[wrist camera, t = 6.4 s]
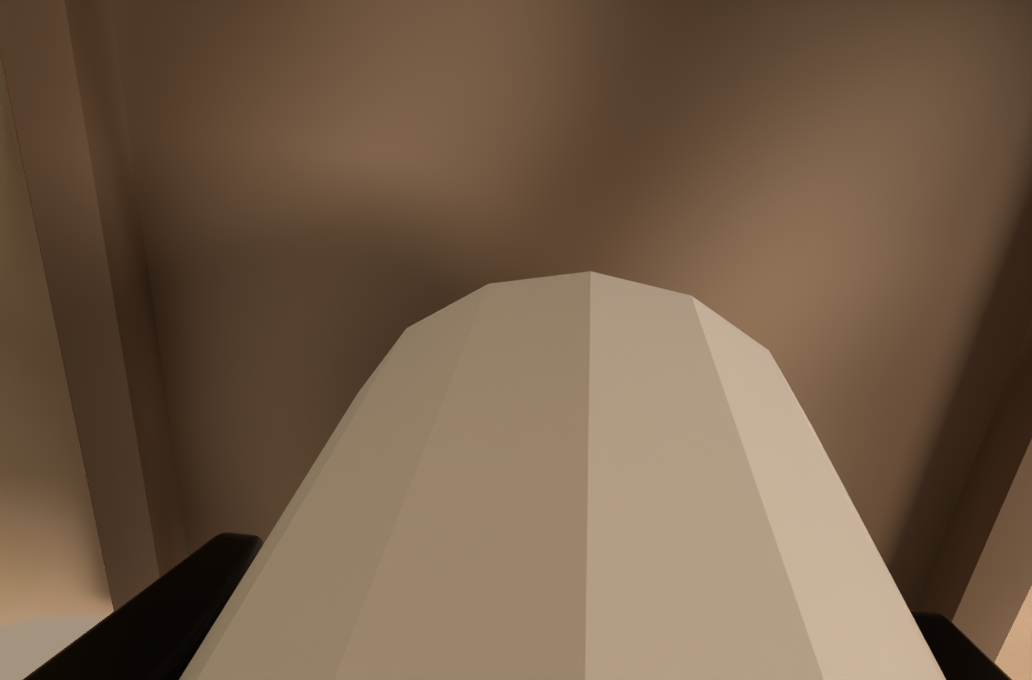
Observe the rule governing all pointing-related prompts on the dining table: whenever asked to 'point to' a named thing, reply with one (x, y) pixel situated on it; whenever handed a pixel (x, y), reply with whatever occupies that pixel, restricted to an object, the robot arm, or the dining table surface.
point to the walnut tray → (536, 233)
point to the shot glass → (570, 512)
